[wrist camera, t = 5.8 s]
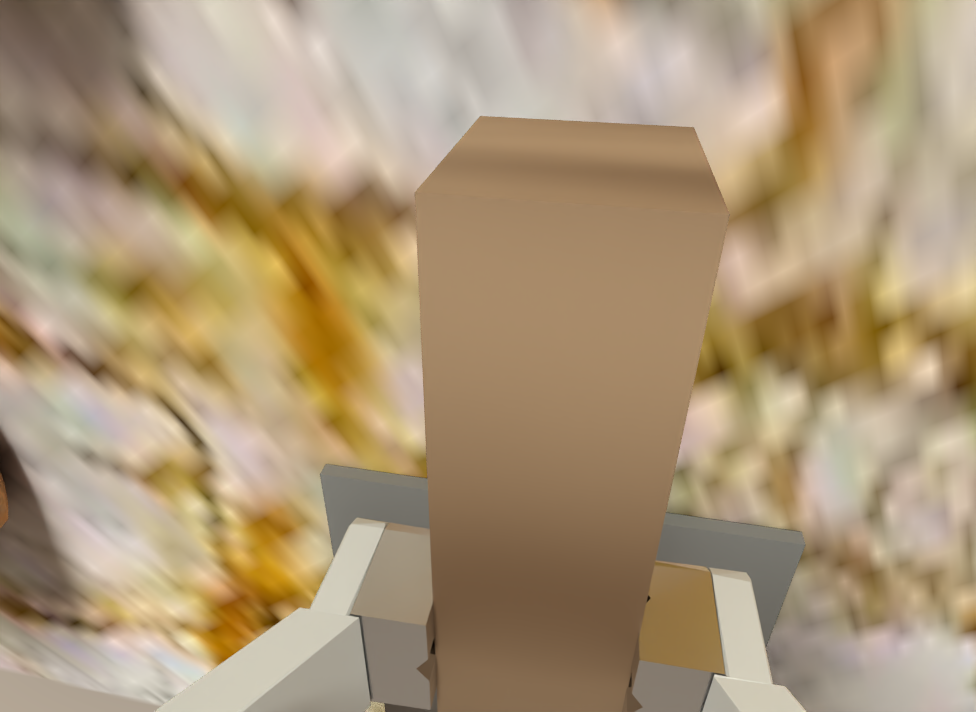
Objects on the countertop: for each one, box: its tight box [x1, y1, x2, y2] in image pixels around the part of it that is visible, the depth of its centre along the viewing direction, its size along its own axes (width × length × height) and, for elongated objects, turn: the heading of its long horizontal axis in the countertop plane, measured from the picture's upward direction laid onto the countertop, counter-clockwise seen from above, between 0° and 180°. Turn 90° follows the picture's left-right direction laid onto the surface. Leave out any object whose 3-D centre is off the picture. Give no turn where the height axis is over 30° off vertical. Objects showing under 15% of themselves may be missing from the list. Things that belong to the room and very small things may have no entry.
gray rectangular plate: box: [320, 464, 805, 648], centre depth 29 cm, size 18×15×1 cm
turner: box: [384, 116, 730, 712], centre depth 10 cm, size 15×6×3 cm, turn 179°
